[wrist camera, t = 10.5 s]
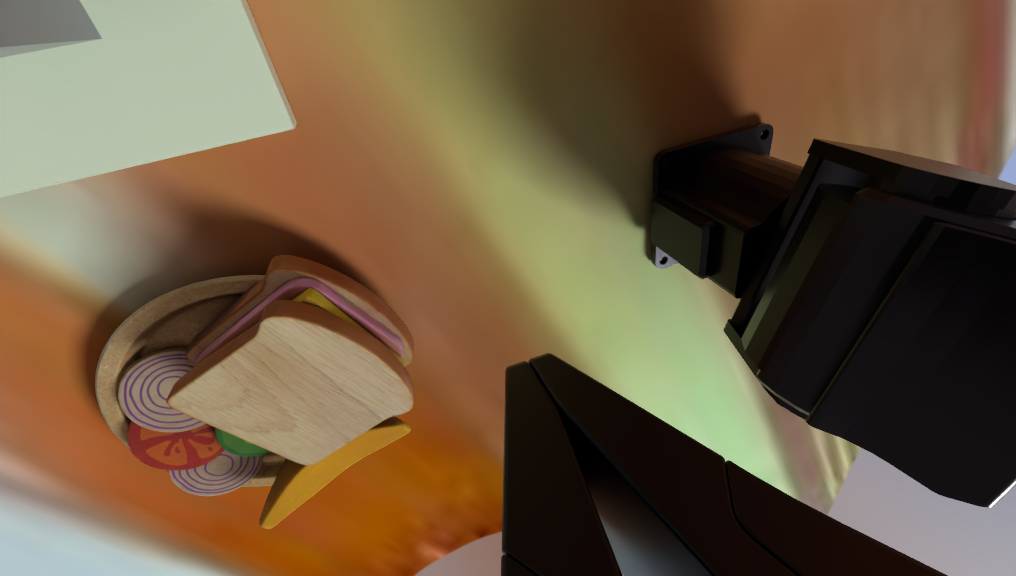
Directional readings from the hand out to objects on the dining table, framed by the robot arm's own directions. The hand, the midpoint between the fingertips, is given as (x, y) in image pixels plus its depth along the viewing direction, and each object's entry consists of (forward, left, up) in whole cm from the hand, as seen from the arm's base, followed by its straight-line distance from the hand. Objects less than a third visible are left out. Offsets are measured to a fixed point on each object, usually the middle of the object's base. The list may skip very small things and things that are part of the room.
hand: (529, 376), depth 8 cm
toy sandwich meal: (+9, +7, -14) cm, 18 cm away
